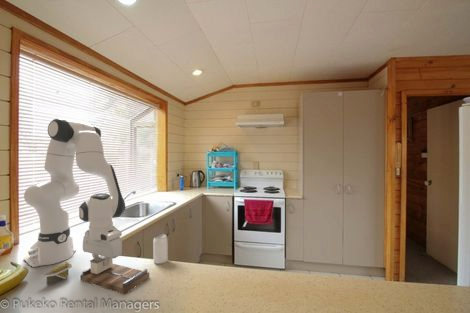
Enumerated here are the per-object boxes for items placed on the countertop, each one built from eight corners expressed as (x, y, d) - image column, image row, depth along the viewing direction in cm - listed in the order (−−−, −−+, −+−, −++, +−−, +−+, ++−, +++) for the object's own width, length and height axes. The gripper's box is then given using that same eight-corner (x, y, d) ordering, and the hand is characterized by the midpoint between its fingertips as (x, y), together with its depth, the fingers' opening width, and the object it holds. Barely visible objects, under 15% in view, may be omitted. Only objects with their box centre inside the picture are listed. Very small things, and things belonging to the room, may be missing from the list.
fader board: (80, 280, 90) (80, 271, 90) (107, 266, 101) (107, 258, 101) (124, 294, 80) (124, 284, 80) (149, 277, 91) (149, 268, 91)
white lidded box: (90, 272, 91) (90, 260, 91) (106, 264, 98) (106, 253, 98) (97, 274, 89) (96, 262, 89) (112, 266, 96) (112, 254, 96)
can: (163, 265, 101) (162, 239, 101) (150, 263, 103) (150, 238, 103) (170, 258, 108) (169, 234, 108) (158, 257, 109) (157, 233, 109)
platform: (90, 273, 96) (90, 258, 96) (42, 298, 79) (42, 280, 79) (72, 268, 100) (72, 254, 100) (23, 291, 83) (22, 274, 83)
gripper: (78, 231, 95) (78, 263, 95) (111, 237, 87) (111, 272, 87) (92, 227, 100) (92, 257, 100) (124, 232, 92) (125, 265, 92)
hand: (101, 264), depth 93 cm, fingers closed on white lidded box, 4 cm apart
